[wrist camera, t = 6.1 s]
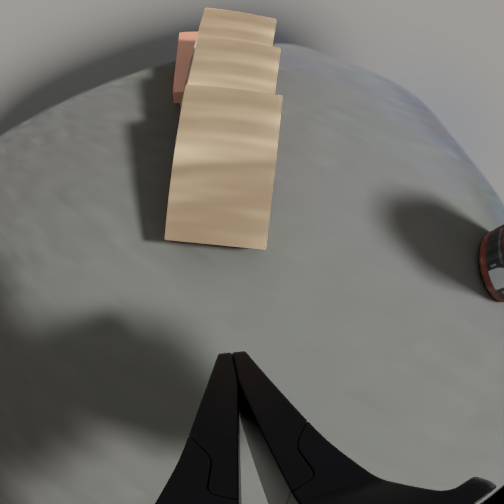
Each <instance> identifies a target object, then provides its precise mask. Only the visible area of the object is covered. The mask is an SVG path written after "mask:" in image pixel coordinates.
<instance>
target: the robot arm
mask: <svg viewBox="0 0 504 504" xmlns="http://www.w3.org/2000/svg"><path fill="white" fill-rule="evenodd" d="M239 415H240V419H241V423H242V426H243V429H244V432H245V435H246V439H247V442H248V445H249V448H250V451H251V454H252V457H253V460H254V463H255V466H256V469H257V472H258V475H259V478H260V481H261V484H262V487H263V489H264V492H265V495H266V498H267V501H268V503H269V504H476V503H477V502H478V501H480V500H481V499H482V498H484V497H485V496H486V495H488V494H489V493H490V492H491V491H493V490H494V489H495V488H496V485H495V484H493V483H492V482H490V481H488V480H485V479H482V478H478V477H473V478H471V479H469V480H468V481H466V482H465V483H463V484H462V485H460V486H458V487H457V488H454V489H451V490H446V491H437V490H430V489H424V488H418V487H413V486H408V485H403V484H399V483H394V482H390V481H386V480H383V479H380V478H378V477H376V476H374V475H372V474H371V473H369V472H368V471H366V470H365V469H364V468H362V467H361V466H359V465H358V464H357V463H355V462H354V461H353V460H351V459H350V458H349V457H347V456H346V455H345V454H343V453H342V452H341V451H339V450H338V449H337V448H336V447H334V446H333V445H332V444H331V443H330V442H328V441H327V440H326V439H325V438H324V437H323V436H322V435H321V434H320V433H319V432H318V431H317V430H316V429H315V428H314V427H313V426H312V425H311V424H310V423H309V422H307V420H306V419H305V418H304V417H303V416H302V415H301V414H300V413H299V411H298V410H297V409H296V408H295V407H294V406H293V405H292V404H291V403H290V402H289V401H288V399H287V398H286V397H285V396H284V395H283V394H282V393H281V392H280V391H279V390H278V388H277V387H276V386H275V385H274V384H273V383H272V382H271V381H270V379H269V378H268V377H267V376H266V375H265V374H264V373H263V371H262V370H261V369H260V368H259V367H258V366H257V365H256V363H255V362H254V361H253V360H252V359H251V358H250V356H249V355H248V354H247V353H246V352H244V351H242V352H234V353H233V354H231V353H222V354H219V355H218V357H217V360H216V362H215V365H214V368H213V371H212V373H211V376H210V379H209V382H208V384H207V387H206V390H205V393H204V395H203V398H202V401H201V404H200V406H199V409H198V412H197V415H196V417H195V420H194V423H193V426H192V428H191V431H190V434H189V437H188V439H187V442H186V444H185V447H184V450H183V452H182V454H181V457H180V459H179V461H178V463H177V465H176V467H175V469H174V471H173V473H172V475H171V477H170V479H169V480H168V482H167V484H166V486H165V487H164V489H163V491H162V493H161V494H160V496H159V498H158V500H157V501H156V503H155V504H241V470H240V423H239ZM480 504H504V485H503V486H502V487H501V488H499V489H498V490H497V491H496V492H495V493H493V494H492V495H491V496H489V497H488V498H487V499H486V500H484V501H483V502H482V503H480Z"/></svg>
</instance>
